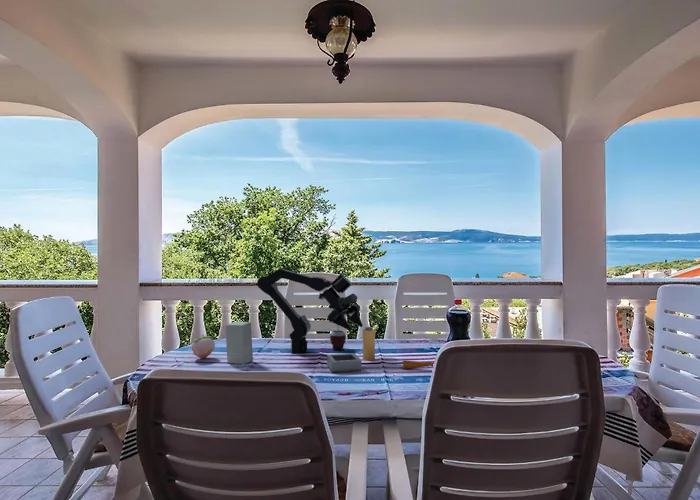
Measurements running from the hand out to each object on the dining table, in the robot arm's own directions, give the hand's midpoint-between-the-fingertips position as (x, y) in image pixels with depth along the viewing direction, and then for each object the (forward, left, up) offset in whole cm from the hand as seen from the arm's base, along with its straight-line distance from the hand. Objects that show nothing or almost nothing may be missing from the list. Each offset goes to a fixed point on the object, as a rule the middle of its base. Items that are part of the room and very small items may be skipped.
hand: (356, 328), depth 175 cm
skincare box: (-48, +3, -12) cm, 49 cm away
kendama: (+22, -25, -13) cm, 36 cm away
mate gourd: (-5, +17, -12) cm, 21 cm away
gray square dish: (-9, -15, -12) cm, 21 cm away
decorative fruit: (-63, +12, -12) cm, 65 cm away
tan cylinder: (+4, -4, -12) cm, 14 cm away
